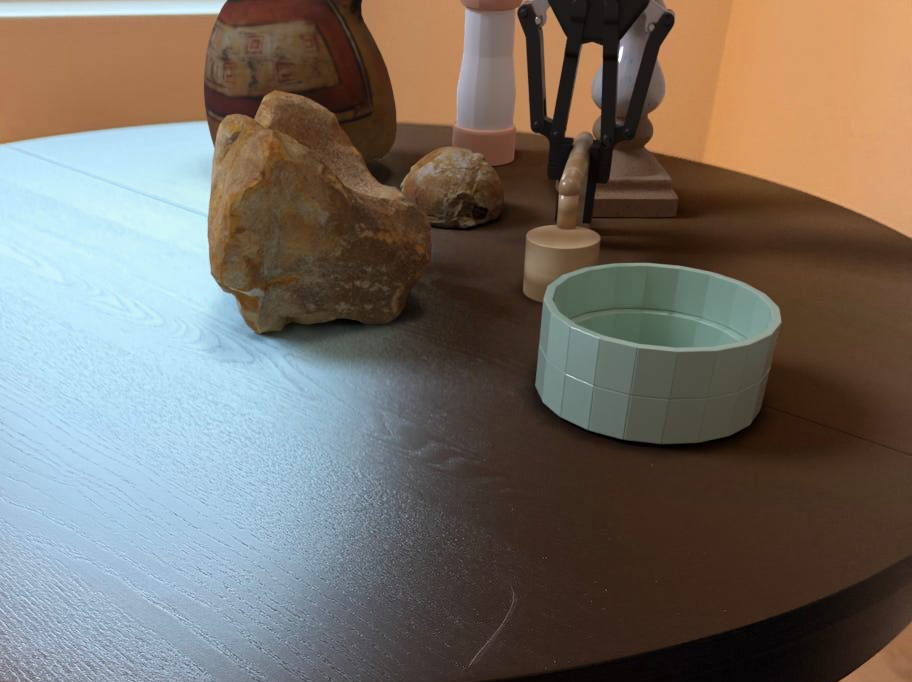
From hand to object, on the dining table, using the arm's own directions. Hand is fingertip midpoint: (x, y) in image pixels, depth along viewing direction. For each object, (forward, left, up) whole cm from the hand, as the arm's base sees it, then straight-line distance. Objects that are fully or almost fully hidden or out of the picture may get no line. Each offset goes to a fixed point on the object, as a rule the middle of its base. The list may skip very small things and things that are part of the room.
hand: (573, 217), depth 96 cm
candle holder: (-3, -15, -3) cm, 15 cm away
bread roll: (+13, -6, -3) cm, 14 cm away
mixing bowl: (-8, +32, -2) cm, 33 cm away
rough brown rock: (+18, +21, -3) cm, 28 cm away
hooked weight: (0, +6, -2) cm, 7 cm away
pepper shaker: (+13, -28, -3) cm, 31 cm away
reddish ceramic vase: (+31, -16, -3) cm, 35 cm away
